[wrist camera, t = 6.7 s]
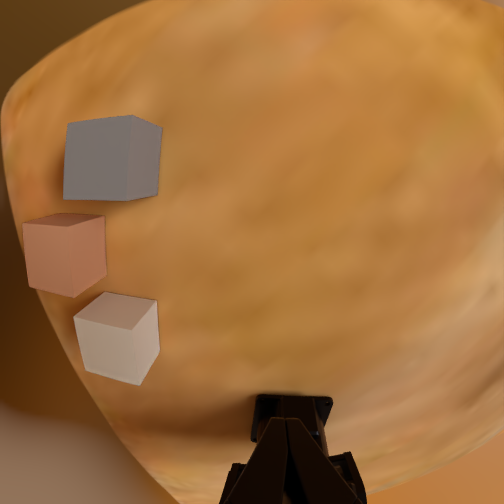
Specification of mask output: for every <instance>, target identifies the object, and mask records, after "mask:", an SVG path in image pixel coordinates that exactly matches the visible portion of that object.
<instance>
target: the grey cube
mask: <svg viewBox="0 0 504 504" xmlns="http://www.w3.org/2000/svg"><path fill="white" fill-rule="evenodd" d="M161 137H162V127H159V126H157V125H155V124H153V123H150V122H148V121H146V120H143V119H141V118H138V117H136V116H134V115H128V116H118V117H108V118H100V119H93V120H86V121H79V122H73V123H68V126H67V135H66V146H65V159H64V181H63V200H111V201H129V200H134V199H139V198H144V197H149V196H155V195H158V175H159V160H160V148H161Z"/></svg>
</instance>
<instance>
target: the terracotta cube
mask: <svg viewBox="0 0 504 504" xmlns="http://www.w3.org/2000/svg"><path fill="white" fill-rule="evenodd" d="M22 227H23V241H24V251H25V260H26V267H27V275H28V282H29V286H30V287H32V288H36V289H40V290H44V291H47V292H51V293H55V294H59V295H63V296H67V297H72V298H75V297H76V296H78V295H79V294H81V293H82V292H83V291H85V290H86V289H88V288H89V287H91V286H92V285H93V284H95V283H96V282H98V281H99V280H101V279H102V278H104V277H105V276H107V270H106V251H105V216H100V215H84V214H66V213H59V214H55V215H51V216H47V217H43V218H39V219H36V220H32V221H28V222H25V223H22Z"/></svg>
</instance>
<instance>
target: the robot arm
mask: <svg viewBox="0 0 504 504" xmlns="http://www.w3.org/2000/svg"><path fill="white" fill-rule="evenodd" d="M262 400H263V401H262ZM326 402H328V403H326ZM332 406H333V400H332V398H331V397H301V396H279V395H264V394H261V395H258V396H257V398H256V404H255V411H254V418H253V424H252V431H251V441H252V442H255V443H257V446H256V448H255V450H254V451H253V453H252V455H251V457H250V459H249V461H248V463H247V464H240V463H233V464H232V467H231V471H229V473H228V476H227V480H226V483H225V486H224V489H223V493H222V496H221V499H220V502H219V504H367V499H366V492H365V488H364V484H363V481H362V479H361V476H360V474H359V471H358V469H357V466H356V464H355V461H354V459H353V456H352V454H351V451H349V452H344V453H343V454H339V455H334V456H329V453H328V448H327V442H326V437H325V432H324V426H325V424H326V421H327V419H328V416H329V414H330V411H331V408H332Z"/></svg>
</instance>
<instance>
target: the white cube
mask: <svg viewBox="0 0 504 504" xmlns="http://www.w3.org/2000/svg"><path fill="white" fill-rule="evenodd" d="M73 318H74V323H75V328H76V333H77V338H78V342H79V346H80V351H81V355H82V359H83V363H84V366H85V370H86V371H89V372H92V373H95V374H98V375H101V376H105V377H108V378H112V379H115V380H119V381H122V382H126V383H130V384H134V385H138V386H140V385H141V383H142V381H143V380H144V378H145V376H146V374H147V373H148V371H149V369H150V367H151V366H152V364H153V362H154V361H155V359H156V357H157V355H158V354H159V352H160V346H159V333H158V317H157V301H156V300H150V299H144V298H138V297H132V296H126V295H120V294H114V293H109V292H104V293H103V294H101V295H100V296H99V297H97V298H96V299H95V300H94V301H92V302H91V303H90V304H88V305H87V306H86V307H85V308H83V309H82V310H81V311H80V312H78V313H77V314H76V315H75V316H73Z"/></svg>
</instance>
